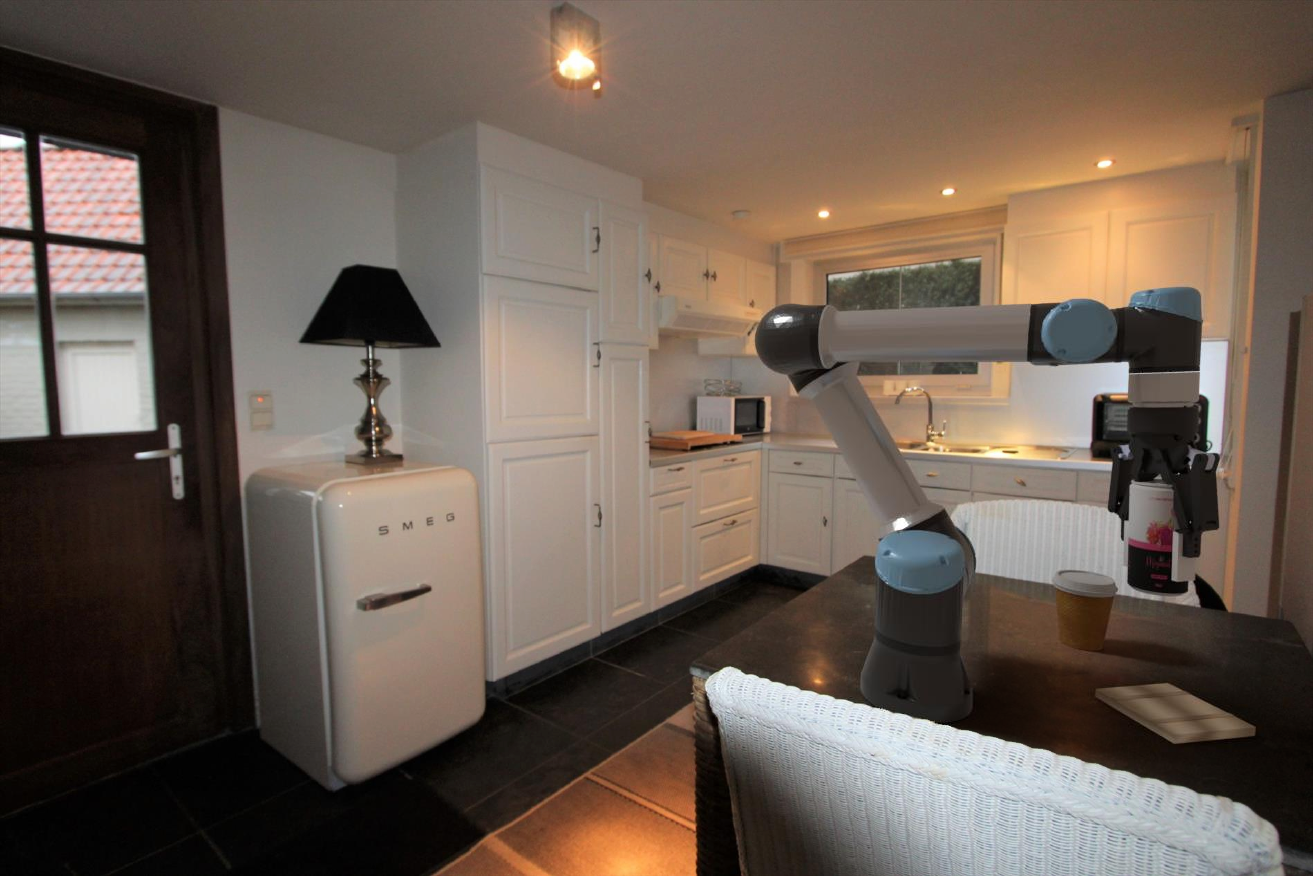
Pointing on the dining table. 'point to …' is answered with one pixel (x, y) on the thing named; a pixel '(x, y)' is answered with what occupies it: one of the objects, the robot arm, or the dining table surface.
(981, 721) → the dining table surface
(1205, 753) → the dining table surface
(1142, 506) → the beverage can
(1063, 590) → the disposable coffee cup
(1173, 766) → the dining table surface
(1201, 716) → the trivet
